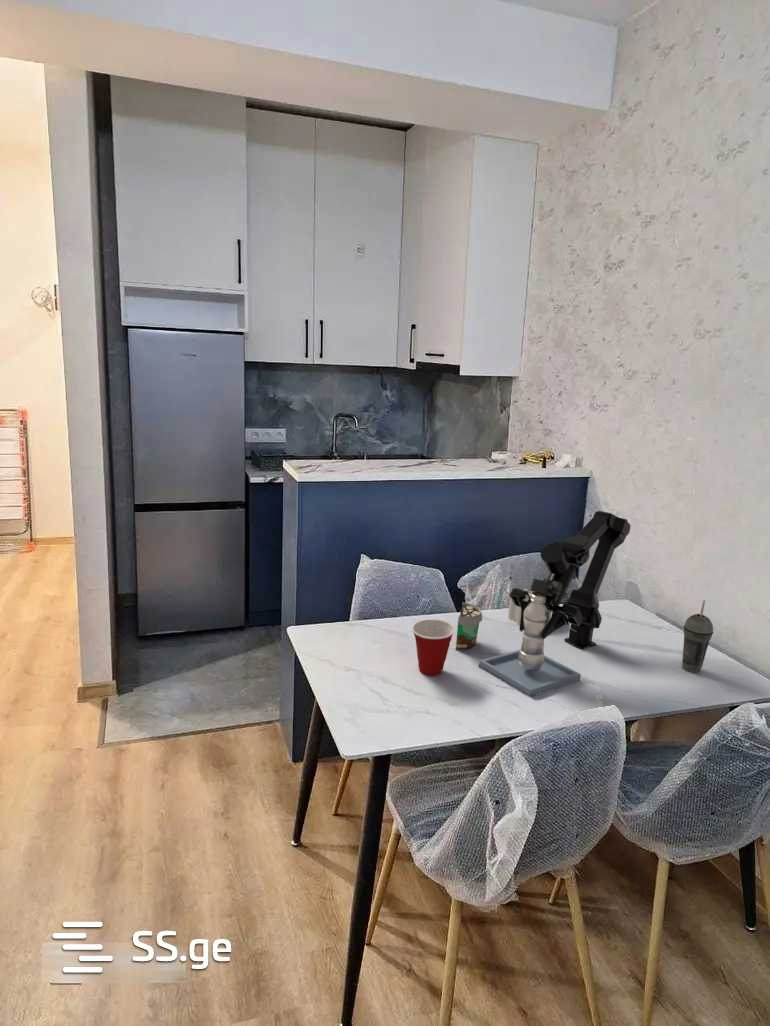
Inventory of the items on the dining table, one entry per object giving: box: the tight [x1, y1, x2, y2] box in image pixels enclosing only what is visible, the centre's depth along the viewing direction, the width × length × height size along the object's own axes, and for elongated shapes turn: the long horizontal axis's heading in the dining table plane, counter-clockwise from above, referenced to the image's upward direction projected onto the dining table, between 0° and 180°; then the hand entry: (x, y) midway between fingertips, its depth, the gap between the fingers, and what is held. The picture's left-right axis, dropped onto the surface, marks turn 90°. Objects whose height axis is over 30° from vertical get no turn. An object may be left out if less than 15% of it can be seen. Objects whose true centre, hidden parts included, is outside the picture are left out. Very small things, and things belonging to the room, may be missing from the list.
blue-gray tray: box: [478, 649, 582, 698], centre depth 178 cm, size 18×18×2 cm
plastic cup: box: [411, 618, 456, 677], centre depth 174 cm, size 11×11×12 cm
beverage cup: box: [681, 600, 714, 674], centre depth 184 cm, size 7×7×20 cm
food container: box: [455, 602, 483, 651], centre depth 192 cm, size 12×6×10 cm, turn 168°
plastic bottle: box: [518, 591, 549, 671], centre depth 175 cm, size 6×7×20 cm
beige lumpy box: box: [507, 588, 552, 626], centre depth 214 cm, size 10×13×9 cm
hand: (531, 634), depth 174 cm, fingers closed on plastic bottle, 6 cm apart
